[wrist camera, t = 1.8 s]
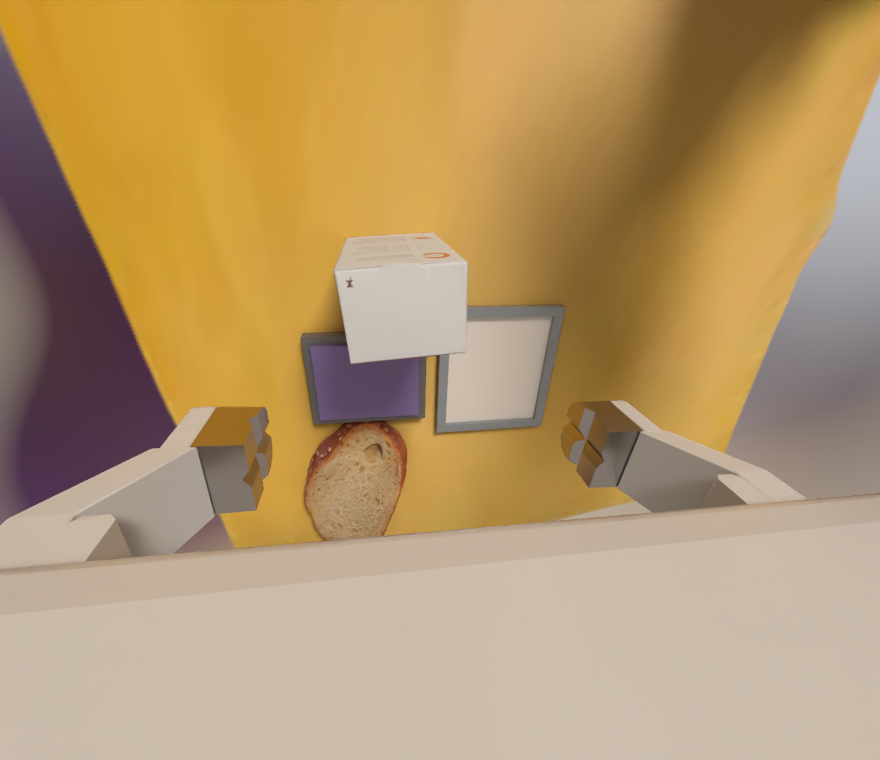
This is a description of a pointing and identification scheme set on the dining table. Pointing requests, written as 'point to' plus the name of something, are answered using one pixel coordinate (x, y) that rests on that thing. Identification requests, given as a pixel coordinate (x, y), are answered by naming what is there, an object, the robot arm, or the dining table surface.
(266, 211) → the dining table surface
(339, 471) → the bread slice
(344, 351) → the ink pad
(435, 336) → the small box
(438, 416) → the print frame
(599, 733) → the robot arm
